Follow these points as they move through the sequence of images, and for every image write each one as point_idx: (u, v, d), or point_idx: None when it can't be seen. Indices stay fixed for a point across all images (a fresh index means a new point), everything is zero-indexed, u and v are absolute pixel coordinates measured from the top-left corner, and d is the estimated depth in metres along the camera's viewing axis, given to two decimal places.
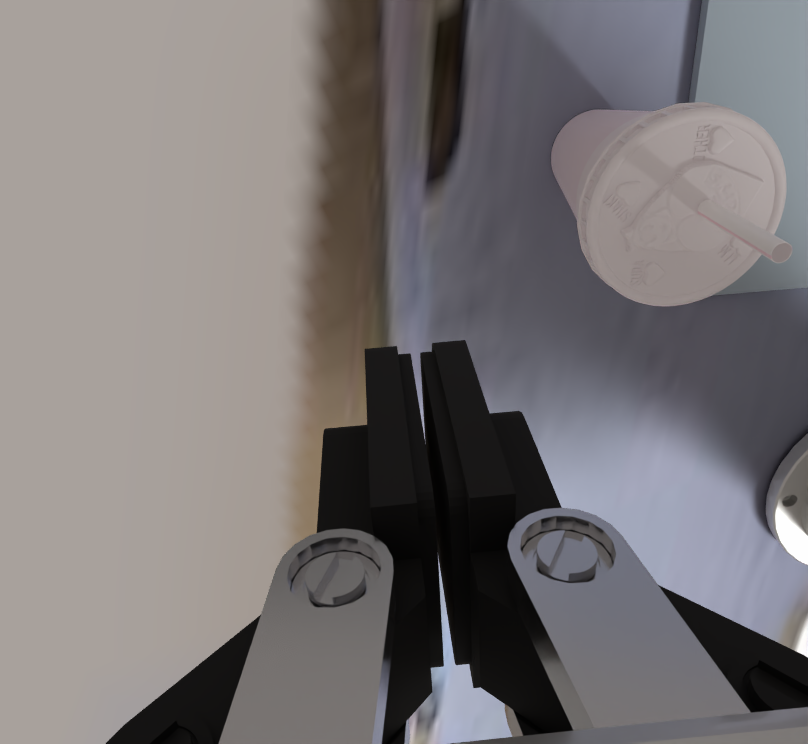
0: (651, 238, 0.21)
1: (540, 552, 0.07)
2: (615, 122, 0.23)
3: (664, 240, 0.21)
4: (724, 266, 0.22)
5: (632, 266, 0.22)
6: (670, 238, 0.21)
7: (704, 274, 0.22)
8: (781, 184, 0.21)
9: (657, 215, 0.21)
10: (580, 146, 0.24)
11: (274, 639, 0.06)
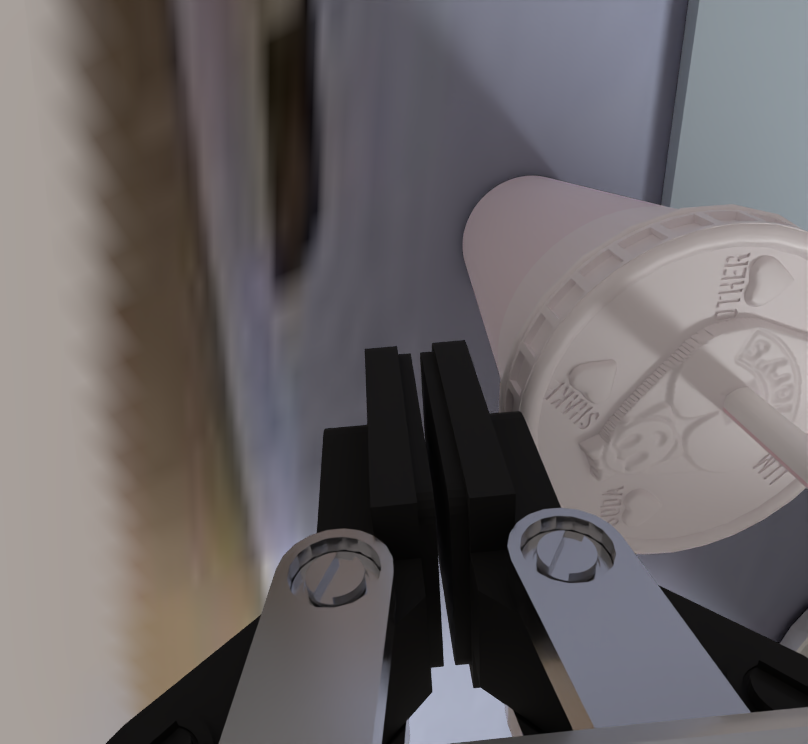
0: (638, 457, 0.11)
1: (540, 552, 0.07)
2: (560, 220, 0.13)
3: (661, 458, 0.11)
4: (764, 487, 0.12)
5: (602, 497, 0.12)
6: (672, 454, 0.11)
7: (729, 501, 0.12)
8: None
9: (649, 419, 0.11)
10: (502, 253, 0.14)
11: (275, 639, 0.06)
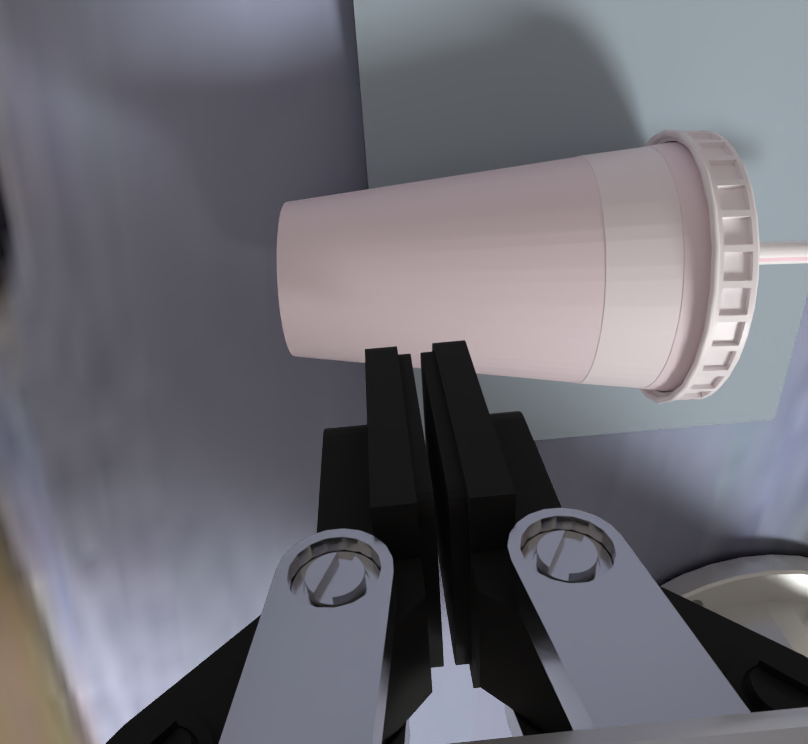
0: None
1: (540, 552, 0.07)
2: (546, 184, 0.14)
3: None
4: None
5: None
6: None
7: None
8: None
9: None
10: (500, 239, 0.14)
11: (274, 638, 0.06)
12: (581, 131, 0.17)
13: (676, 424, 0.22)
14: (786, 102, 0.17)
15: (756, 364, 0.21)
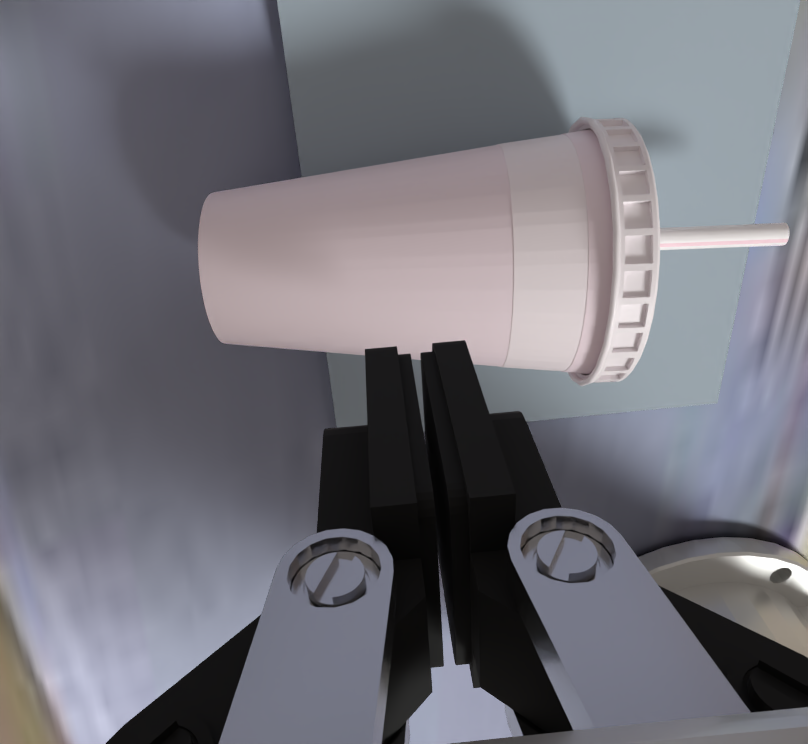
0: None
1: (540, 552, 0.07)
2: (459, 172, 0.14)
3: None
4: None
5: None
6: None
7: None
8: None
9: None
10: (412, 226, 0.14)
11: (274, 639, 0.06)
12: (509, 120, 0.18)
13: (620, 409, 0.23)
14: (710, 89, 0.18)
15: (695, 349, 0.22)
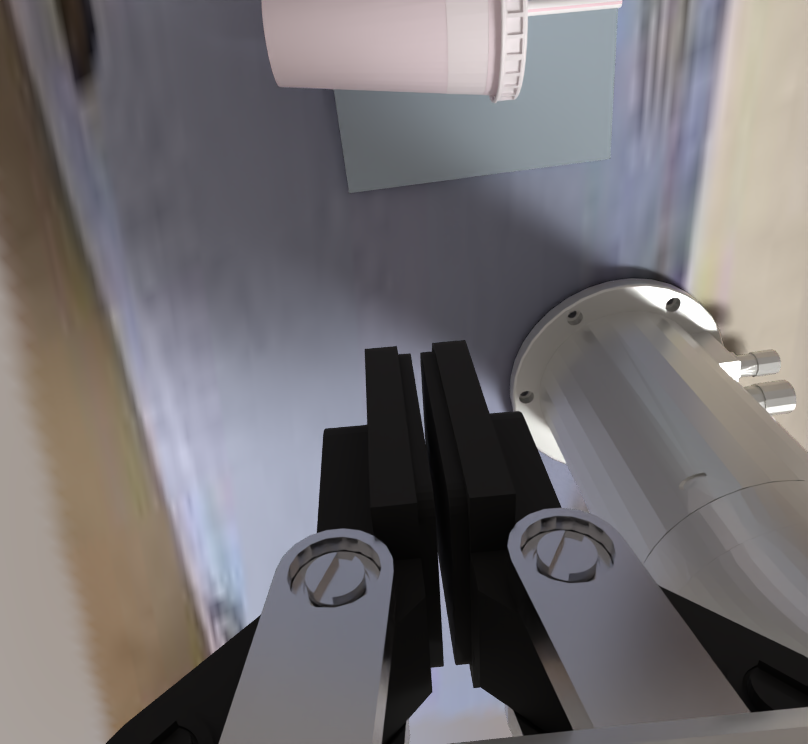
0: None
1: (540, 552, 0.07)
2: None
3: None
4: None
5: None
6: None
7: None
8: None
9: None
10: None
11: (274, 639, 0.06)
12: None
13: (542, 164, 0.33)
14: None
15: (589, 114, 0.32)
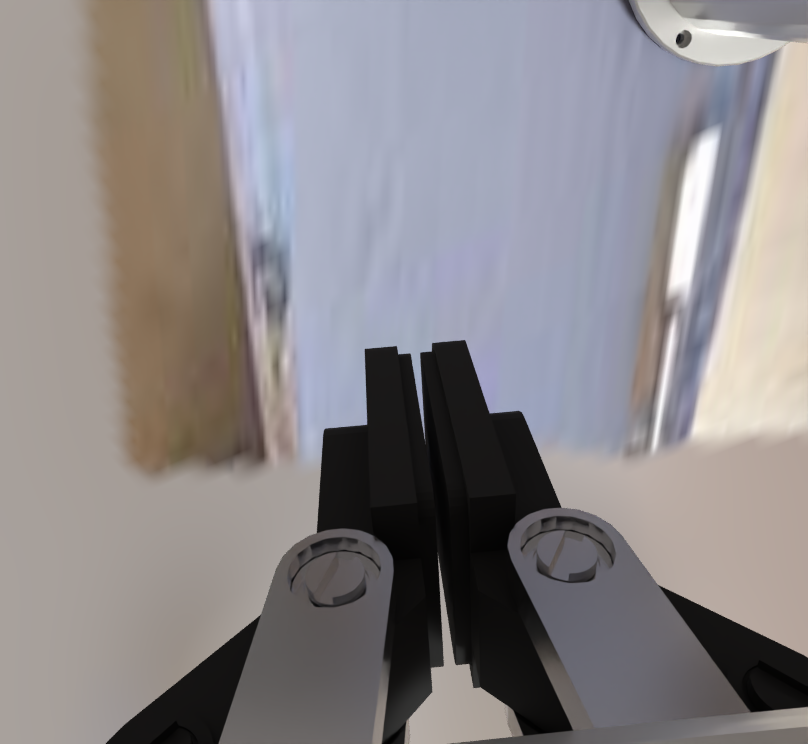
0: None
1: (540, 552, 0.07)
2: None
3: None
4: None
5: None
6: None
7: None
8: None
9: None
10: None
11: (274, 639, 0.06)
12: None
13: None
14: None
15: None
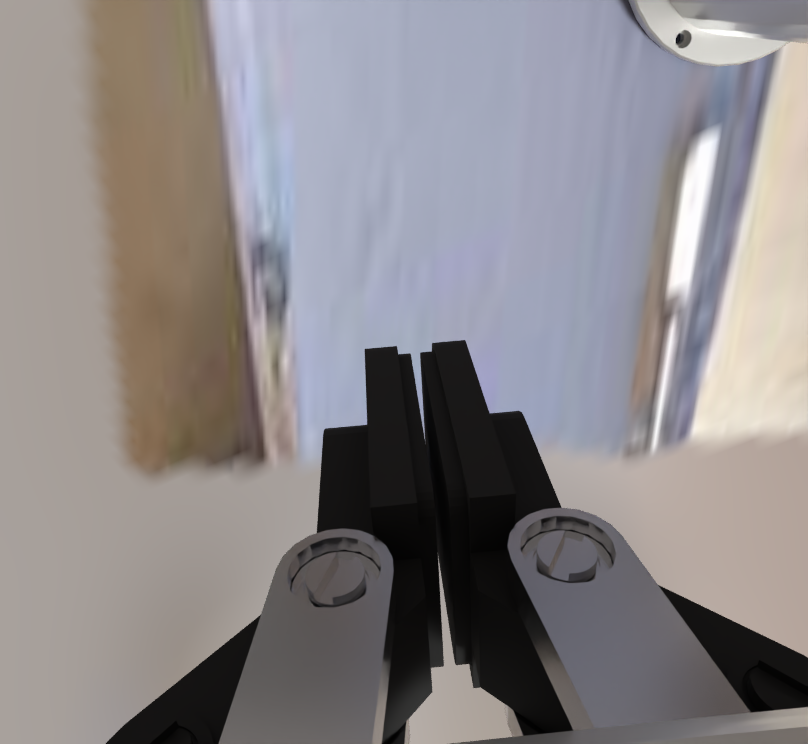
0: None
1: (540, 552, 0.07)
2: None
3: None
4: None
5: None
6: None
7: None
8: None
9: None
10: None
11: (274, 639, 0.06)
12: None
13: None
14: None
15: None
